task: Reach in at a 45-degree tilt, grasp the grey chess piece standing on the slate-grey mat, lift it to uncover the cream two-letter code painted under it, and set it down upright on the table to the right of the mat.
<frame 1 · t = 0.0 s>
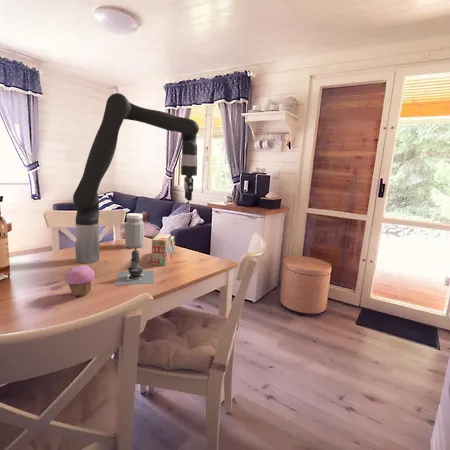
hand: (188, 199, 139), 29 cm above the table, tool pointing down, fingers open, 8 cm apart
code mat: (135, 277, 115), on the table
jar: (134, 246, 160), on the table
cupcake: (80, 294, 98), on the table
stack of blocks: (163, 259, 141), on the table
grey chess piece: (135, 277, 115), resting on code mat
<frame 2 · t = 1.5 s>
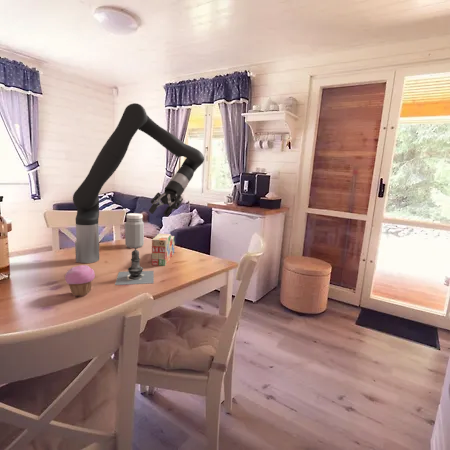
hand: (157, 213, 121), 25 cm above the table, tool tilted 45°, fingers open, 8 cm apart
nothing on the table moved.
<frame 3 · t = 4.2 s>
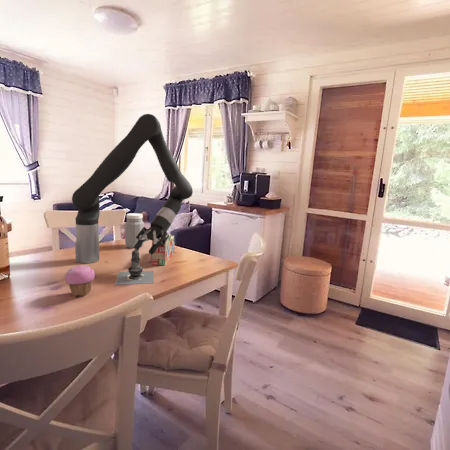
hand: (142, 251, 117), 10 cm above the table, tool tilted 45°, fingers open, 8 cm apart
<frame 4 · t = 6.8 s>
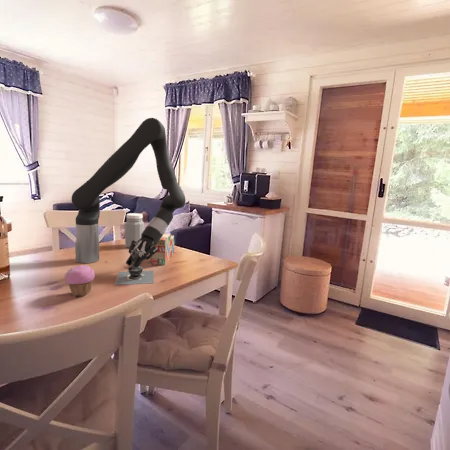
hand: (131, 265, 113), 6 cm above the table, tool tilted 45°, fingers closed on grey chess piece, 3 cm apart
grey chess piece: (135, 277, 115), resting on code mat, touching gripper
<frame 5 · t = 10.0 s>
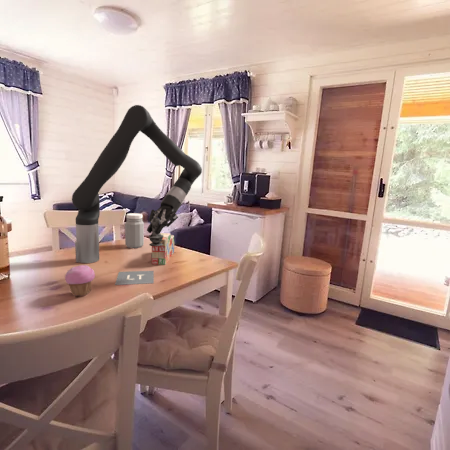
hand: (152, 232, 114), 18 cm above the table, tool tilted 45°, fingers closed on grey chess piece, 3 cm apart
grey chess piece: (156, 245, 117), point 13 cm above the table, touching gripper
when the fingers open (6 cm above the table, at t = 13.6 s): grey chess piece stays where it is, on the table.
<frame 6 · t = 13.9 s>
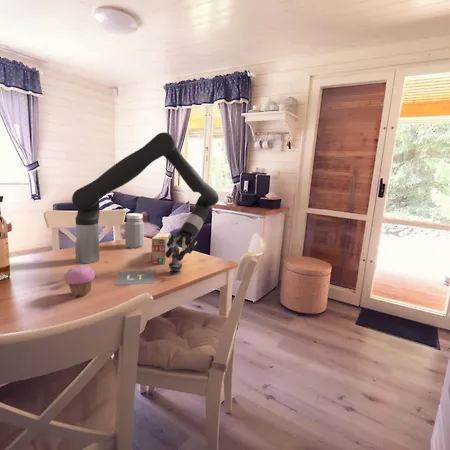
hand: (172, 258, 120), 7 cm above the table, tool tilted 45°, fingers open, 6 cm apart
grey chess piece: (175, 272, 123), on the table
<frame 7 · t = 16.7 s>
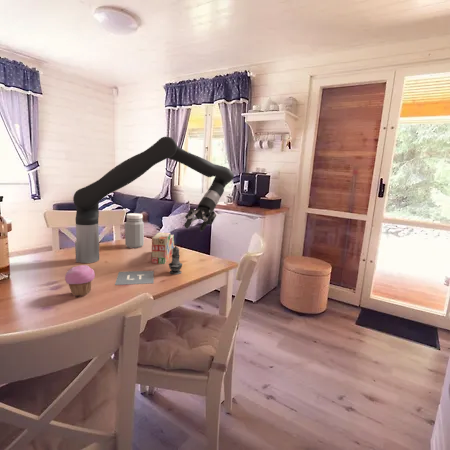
hand: (193, 228, 130), 17 cm above the table, tool tilted 45°, fingers open, 8 cm apart
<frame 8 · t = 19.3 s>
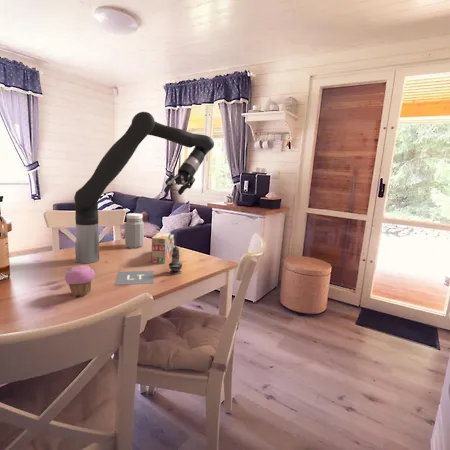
hand: (172, 192, 131), 33 cm above the table, tool tilted 45°, fingers open, 8 cm apart
at the end: grey chess piece inside the target area (0.2 cm from its centre), on the table; grey chess piece tilted 0°; grey chess piece moved 16.6 cm from its start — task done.
